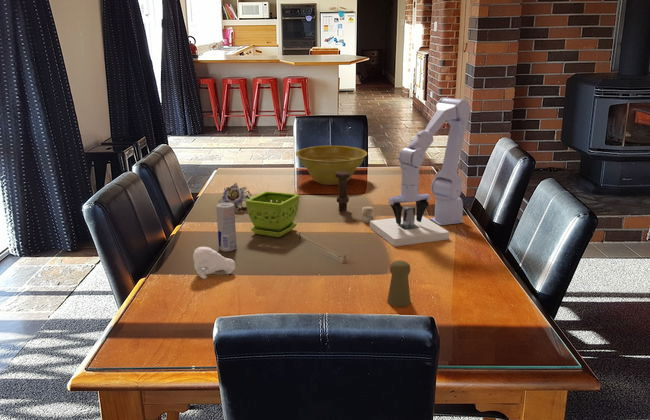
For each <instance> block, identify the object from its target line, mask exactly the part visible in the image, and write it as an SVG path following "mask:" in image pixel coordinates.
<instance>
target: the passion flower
mask: <svg viewBox="0 0 650 420" xmlns="http://www.w3.org/2000/svg"><path fill="white" fill-rule="evenodd" d="M223 190H224V191H223V192H222V194H223V195H222V198H221V199H219V200H218V204H219V203H226V202H228V203H233V204H234V209H236V207H238V209H242V207H243V202H246V201H247V200H248V199H250V198H251V196H252V194H251V192H250V190H247V186H243V187H239V185H238V182H234V183H233V185H231V186H228V187H227V186H226V187H224V188H223ZM246 190H247V191H246Z"/></svg>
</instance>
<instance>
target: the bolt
mask: <svg viewBox="0 0 650 420" xmlns="http://www.w3.org/2000/svg"><path fill="white" fill-rule="evenodd" d="M349 177H350V173H349V172H346V171H339V172H336V178H338V181H339V184H338V196H337V197H336V202H337V204H338V211H339V212H346V211H347V210H348V205H347V204H348V203H349V201H350V197H349V196H348V181H347V178H349Z"/></svg>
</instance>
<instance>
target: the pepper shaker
mask: <svg viewBox="0 0 650 420" xmlns="http://www.w3.org/2000/svg"><path fill="white" fill-rule="evenodd" d="M389 272H390V274H391V278H390V283H389V289H388V290H389V291H388V296H387V300H386V301H387V302H388V303H389V304H390V306H391V305H392V307H394V306H396V307H395V308H406V307H408V306H410V305H411V302H412V301H411V292H410V283H409V274H410V273H411V266H410V264H409V262H407V261H404V260H395V261H393V262H391V264H390V265H389ZM388 303H387V304H388ZM389 304H388V305H389Z"/></svg>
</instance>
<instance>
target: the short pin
mask: <svg viewBox="0 0 650 420" xmlns="http://www.w3.org/2000/svg"><path fill="white" fill-rule="evenodd" d="M373 220H374V207H372V206H367V205H366V206H363V207H362V209H361V223H365V224H370V221H373Z"/></svg>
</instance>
